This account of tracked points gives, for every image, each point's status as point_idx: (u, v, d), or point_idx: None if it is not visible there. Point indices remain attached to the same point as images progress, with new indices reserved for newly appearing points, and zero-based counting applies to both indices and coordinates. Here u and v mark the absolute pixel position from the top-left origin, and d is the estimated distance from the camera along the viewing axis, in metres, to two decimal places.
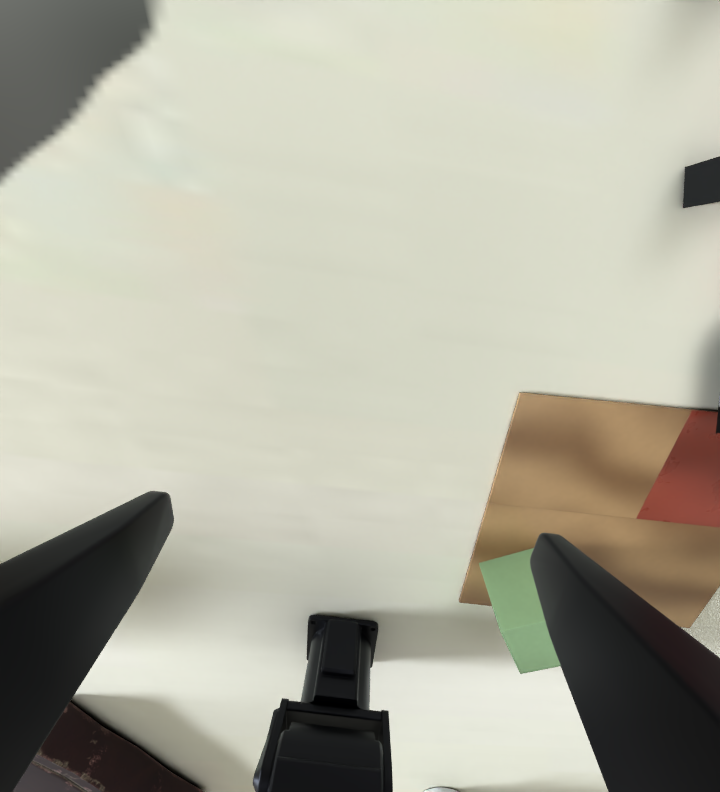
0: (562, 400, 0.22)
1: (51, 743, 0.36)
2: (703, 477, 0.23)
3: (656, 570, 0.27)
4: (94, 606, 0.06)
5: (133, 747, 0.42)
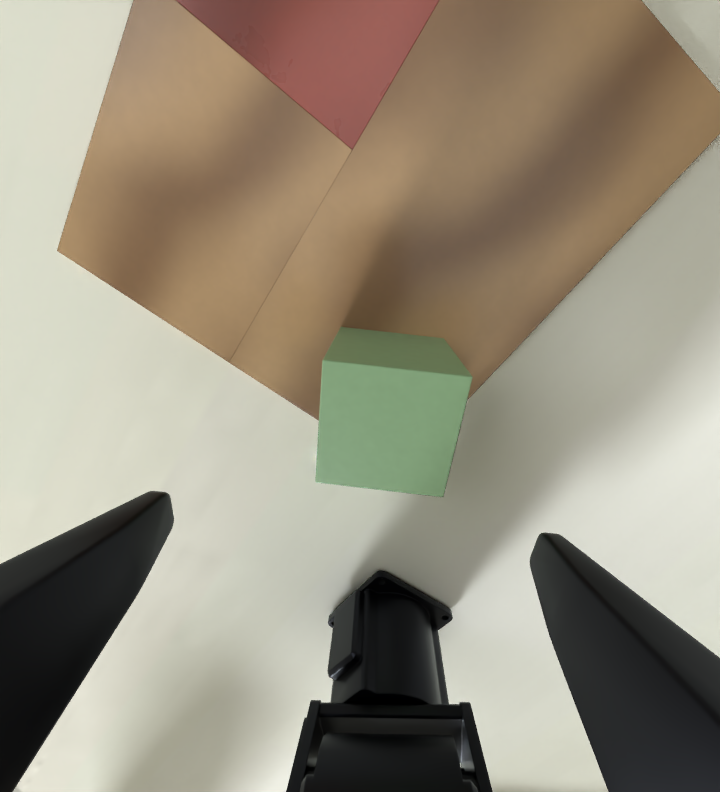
0: (78, 197, 0.15)
1: None
2: None
3: (506, 145, 0.13)
4: (94, 605, 0.06)
5: None
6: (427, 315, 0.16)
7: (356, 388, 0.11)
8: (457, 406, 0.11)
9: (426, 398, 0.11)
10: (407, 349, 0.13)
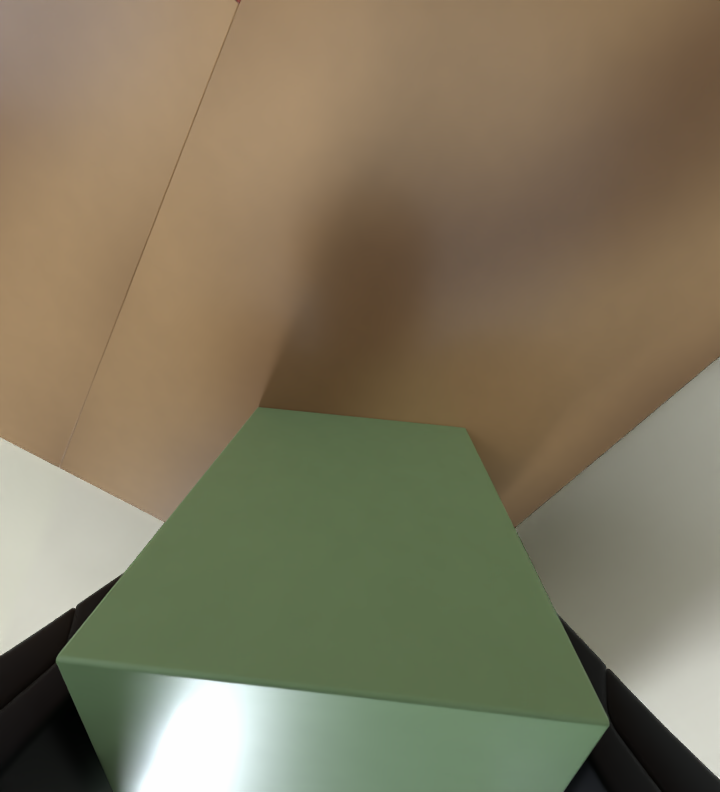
0: None
1: None
2: None
3: None
4: None
5: None
6: (432, 385, 0.08)
7: (198, 729, 0.03)
8: (543, 781, 0.03)
9: (436, 761, 0.03)
10: (384, 501, 0.05)
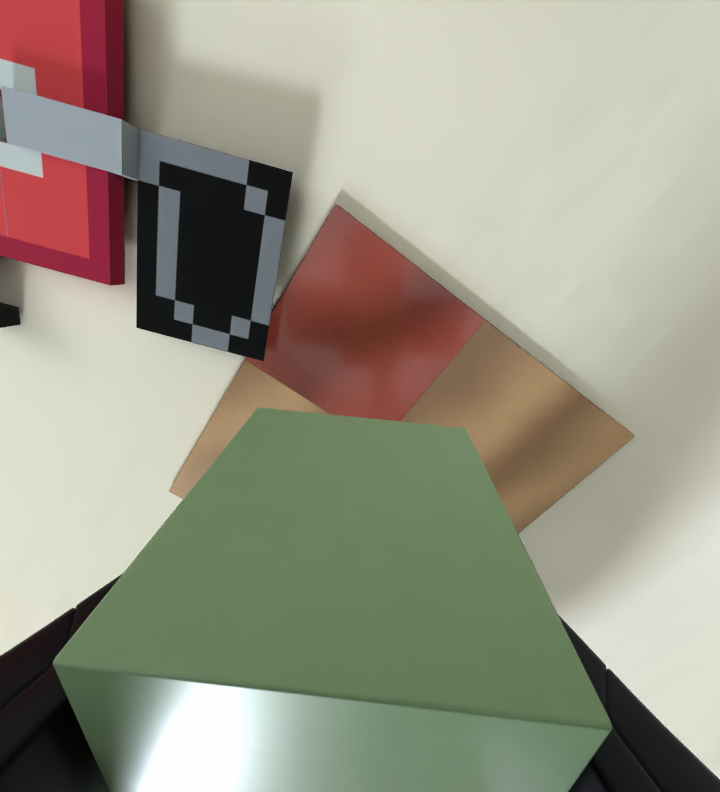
0: (188, 464, 0.21)
1: None
2: (350, 366, 0.18)
3: (483, 446, 0.19)
4: None
5: None
6: None
7: (196, 733, 0.03)
8: (544, 785, 0.03)
9: (437, 765, 0.03)
10: (384, 502, 0.05)
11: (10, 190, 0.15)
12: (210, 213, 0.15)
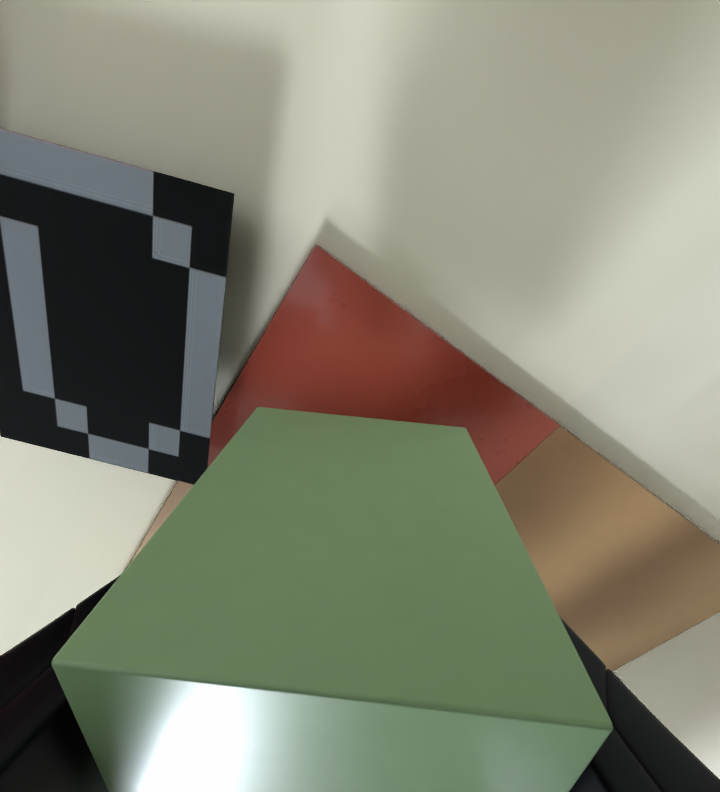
0: None
1: None
2: None
3: None
4: None
5: None
6: None
7: (196, 733, 0.03)
8: (545, 785, 0.03)
9: (436, 764, 0.03)
10: (384, 501, 0.05)
11: None
12: (94, 263, 0.08)
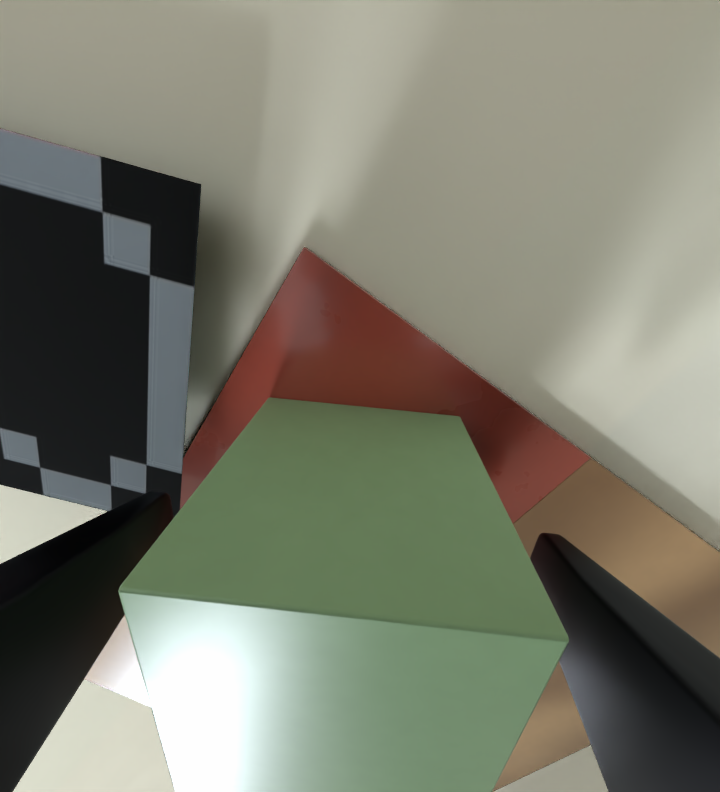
0: None
1: None
2: None
3: None
4: (94, 606, 0.06)
5: None
6: None
7: (231, 653, 0.04)
8: (518, 696, 0.04)
9: (429, 679, 0.04)
10: (385, 476, 0.06)
11: None
12: (35, 270, 0.07)
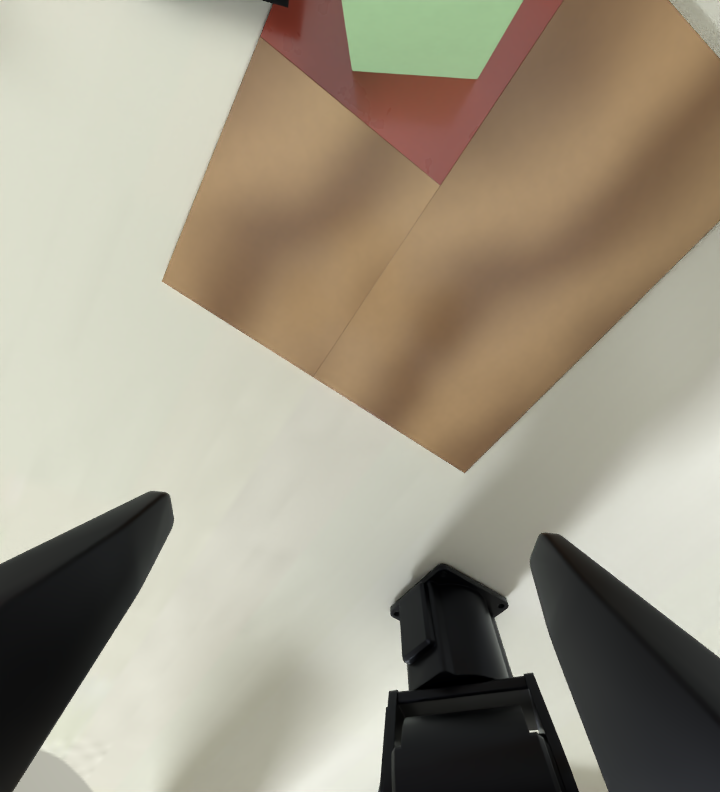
0: (185, 233, 0.16)
1: None
2: None
3: (582, 178, 0.14)
4: (94, 606, 0.06)
5: None
6: (500, 330, 0.17)
7: None
8: None
9: None
10: None
11: None
12: None
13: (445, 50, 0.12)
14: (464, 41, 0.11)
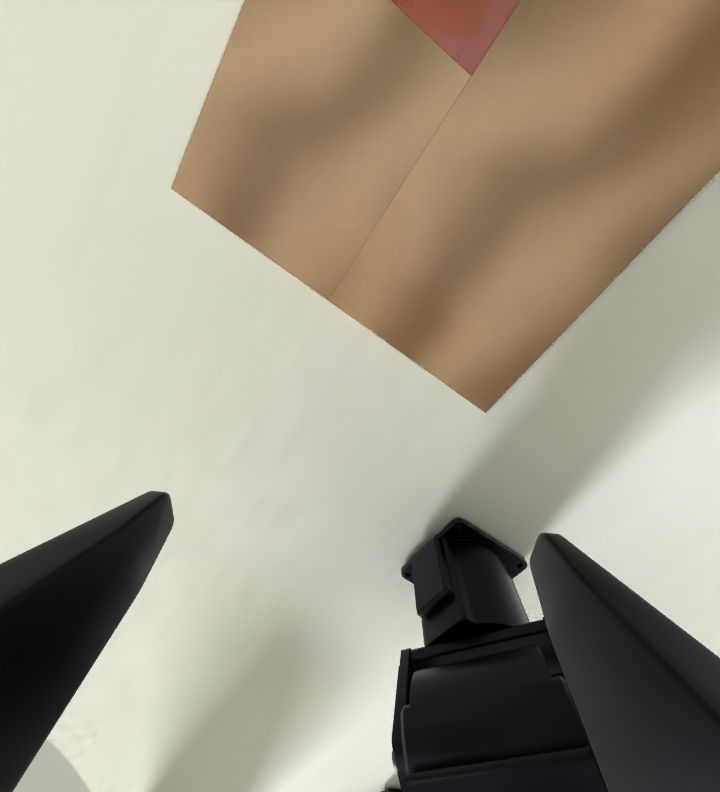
0: (198, 132, 0.15)
1: None
2: None
3: (623, 66, 0.14)
4: (93, 605, 0.06)
5: None
6: (529, 245, 0.16)
7: None
8: None
9: None
10: None
11: None
12: None
13: None
14: None
